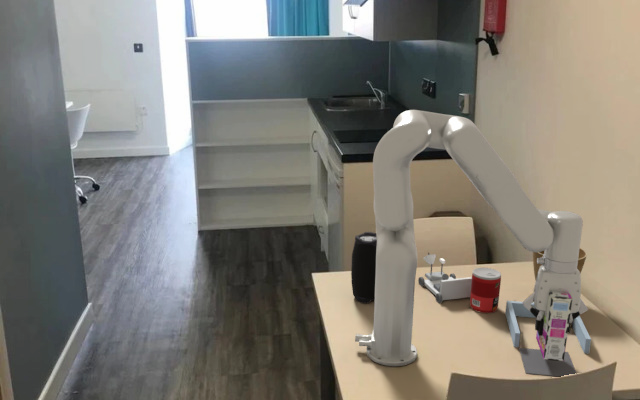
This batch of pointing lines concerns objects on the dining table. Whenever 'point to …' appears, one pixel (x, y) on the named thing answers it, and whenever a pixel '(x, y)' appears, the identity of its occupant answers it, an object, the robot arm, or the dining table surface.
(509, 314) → the blue u-shaped frame
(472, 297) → the canned food
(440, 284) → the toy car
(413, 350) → the robot arm
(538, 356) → the mat
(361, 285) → the portable speaker
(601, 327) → the dining table surface
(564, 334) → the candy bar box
